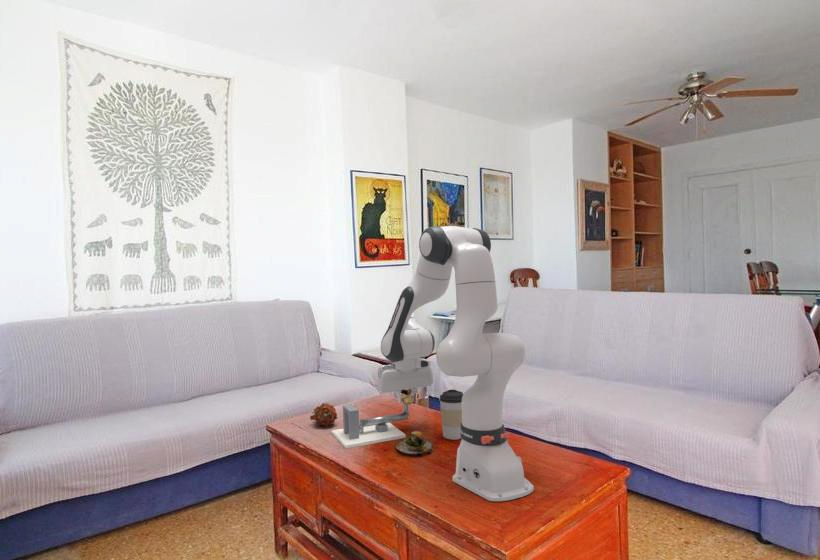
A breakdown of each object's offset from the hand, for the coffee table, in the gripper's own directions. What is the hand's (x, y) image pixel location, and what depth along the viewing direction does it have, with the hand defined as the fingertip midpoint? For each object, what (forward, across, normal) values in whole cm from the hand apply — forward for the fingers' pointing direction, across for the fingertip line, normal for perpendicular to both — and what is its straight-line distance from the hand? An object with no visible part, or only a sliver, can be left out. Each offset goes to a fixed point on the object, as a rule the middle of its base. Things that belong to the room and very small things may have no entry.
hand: (406, 401), depth 174 cm
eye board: (+10, -14, 0) cm, 17 cm away
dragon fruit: (+10, -25, +18) cm, 32 cm away
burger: (+10, -6, -19) cm, 22 cm away
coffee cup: (+10, +11, -14) cm, 20 cm away
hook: (+8, -8, 0) cm, 12 cm away
